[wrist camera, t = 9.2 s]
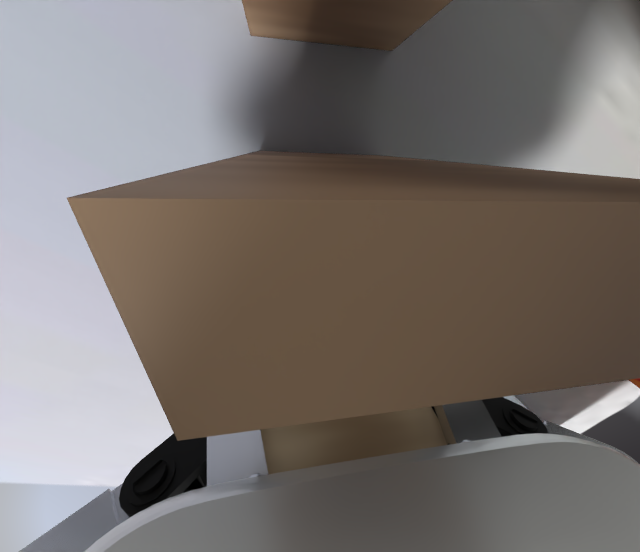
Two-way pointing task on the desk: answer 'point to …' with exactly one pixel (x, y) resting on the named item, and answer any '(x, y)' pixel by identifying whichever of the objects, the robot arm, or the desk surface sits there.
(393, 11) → the tile
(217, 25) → the desk surface
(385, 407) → the tile
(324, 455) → the tile
